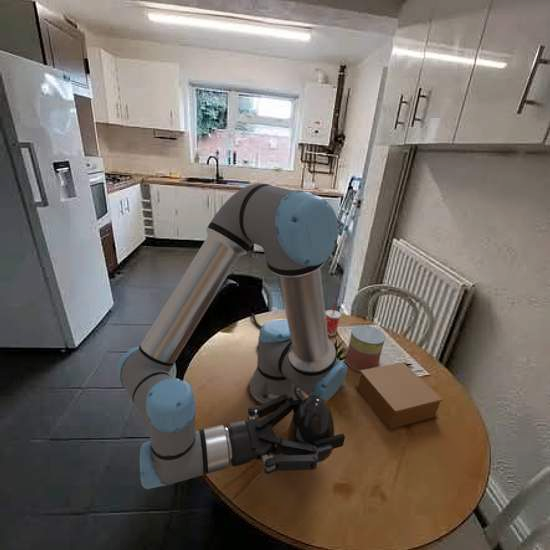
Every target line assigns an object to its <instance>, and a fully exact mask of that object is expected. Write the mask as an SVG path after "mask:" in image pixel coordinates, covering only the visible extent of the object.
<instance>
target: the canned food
mask: <svg viewBox="0 0 550 550" xmlns="http://www.w3.org/2000/svg"><path fill="white" fill-rule="evenodd" d="M385 341H386V336H385V334H384V333H383V332H382V331H381V330H380V329H378V328H377V327H375V326H374V327H373V326H370V325H366V324H361V325H359V324H358V325H355V326H353V327H352V328H351V332H350V338H349V343H348V348H347V353H346V357H345V362H346V365H347V366H349V367H350V368H351V369H353V370H355V371H356V372H359V373H360V370H365V369H370V368H375V367H379V364H380V359H381V357H382V356H381V355H382V352H383V347H384V343H385Z"/></svg>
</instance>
